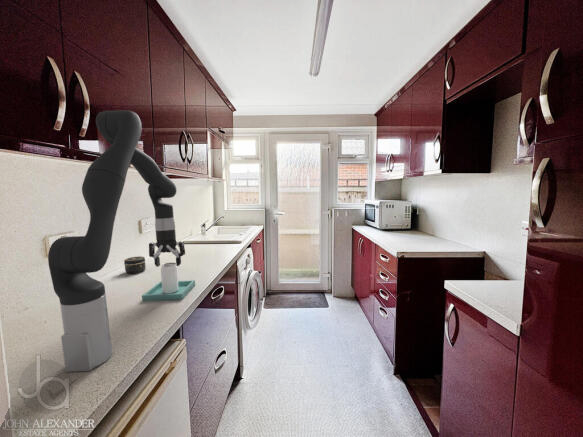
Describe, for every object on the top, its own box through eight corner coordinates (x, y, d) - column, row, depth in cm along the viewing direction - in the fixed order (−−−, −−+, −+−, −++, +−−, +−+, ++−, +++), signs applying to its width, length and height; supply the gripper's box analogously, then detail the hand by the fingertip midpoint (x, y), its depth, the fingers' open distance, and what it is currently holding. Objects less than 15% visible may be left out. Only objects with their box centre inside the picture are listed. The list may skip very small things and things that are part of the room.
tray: (182, 299, 107) (181, 294, 107) (142, 301, 106) (141, 295, 106) (195, 285, 123) (194, 280, 123) (160, 286, 122) (160, 281, 122)
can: (172, 294, 111) (171, 266, 110) (158, 293, 112) (157, 266, 110) (181, 289, 117) (180, 262, 116) (168, 288, 118) (166, 262, 117)
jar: (134, 275, 140) (132, 261, 139) (120, 273, 144) (119, 260, 143) (150, 269, 149) (148, 256, 148) (137, 268, 153) (136, 255, 152)
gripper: (143, 230, 107) (147, 269, 109) (178, 229, 108) (181, 267, 110) (152, 228, 115) (155, 264, 117) (185, 226, 115) (188, 263, 117)
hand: (168, 265), depth 113 cm, fingers open, 8 cm apart
